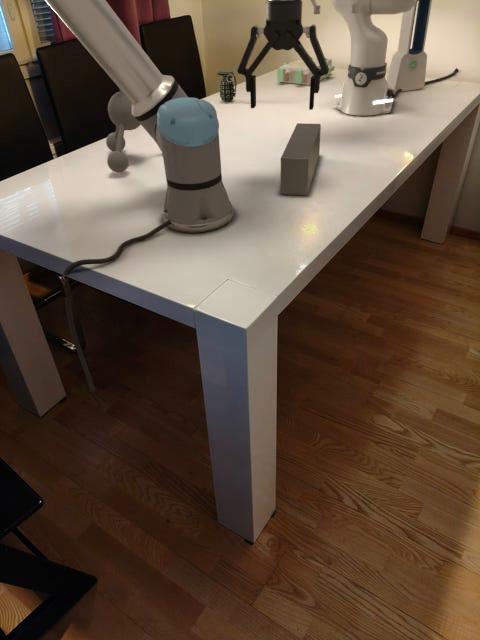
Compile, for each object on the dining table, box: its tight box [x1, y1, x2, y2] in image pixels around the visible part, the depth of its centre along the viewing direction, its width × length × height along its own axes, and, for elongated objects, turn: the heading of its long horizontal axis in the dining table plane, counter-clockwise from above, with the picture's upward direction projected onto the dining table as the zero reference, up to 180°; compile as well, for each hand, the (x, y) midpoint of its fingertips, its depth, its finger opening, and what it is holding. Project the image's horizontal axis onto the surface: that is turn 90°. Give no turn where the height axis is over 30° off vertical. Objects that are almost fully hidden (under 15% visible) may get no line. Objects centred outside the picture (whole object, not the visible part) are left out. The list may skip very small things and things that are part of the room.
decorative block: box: [276, 56, 336, 86], centre depth 205 cm, size 26×6×20 cm
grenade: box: [216, 70, 237, 103], centre depth 181 cm, size 7×6×10 cm
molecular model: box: [105, 88, 142, 174], centre depth 130 cm, size 24×22×30 cm
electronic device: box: [386, 0, 433, 92], centre depth 177 cm, size 12×8×30 cm, turn 105°
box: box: [280, 122, 322, 197], centre depth 122 cm, size 26×6×9 cm, turn 167°
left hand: (282, 107), depth 113 cm, fingers open, 13 cm apart
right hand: (335, 13), depth 123 cm, fingers open, 8 cm apart
